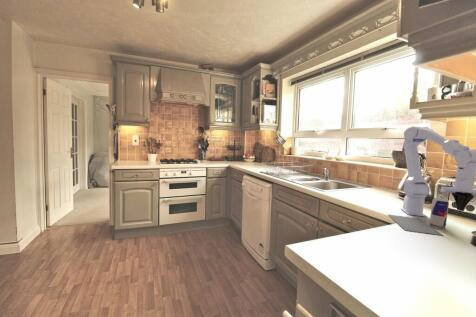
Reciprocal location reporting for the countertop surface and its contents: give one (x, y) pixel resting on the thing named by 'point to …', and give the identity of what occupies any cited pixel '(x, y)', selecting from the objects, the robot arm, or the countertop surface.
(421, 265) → the countertop surface
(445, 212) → the energy drink
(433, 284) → the countertop surface
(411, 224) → the mat
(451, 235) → the countertop surface
